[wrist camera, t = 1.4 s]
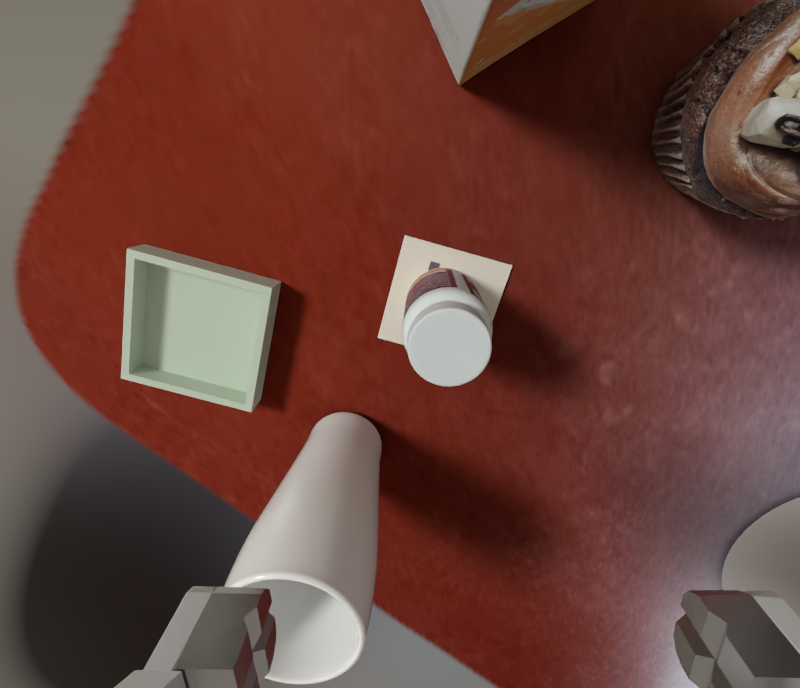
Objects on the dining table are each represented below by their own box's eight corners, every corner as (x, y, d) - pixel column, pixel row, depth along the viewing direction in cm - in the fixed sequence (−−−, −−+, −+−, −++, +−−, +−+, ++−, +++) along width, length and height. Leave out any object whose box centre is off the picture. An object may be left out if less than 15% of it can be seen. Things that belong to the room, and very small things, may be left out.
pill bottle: (396, 325, 29) (386, 378, 21) (418, 256, 28) (416, 287, 20) (464, 346, 30) (479, 406, 22) (490, 279, 28) (515, 317, 20)
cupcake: (750, 236, 26) (928, 267, 17) (602, 180, 26) (703, 179, 16) (860, 61, 23) (1156, -21, 14) (693, -10, 23) (885, -146, 13)
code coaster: (512, 265, 28) (512, 265, 28) (476, 364, 30) (476, 364, 30) (404, 235, 27) (404, 235, 27) (377, 337, 30) (377, 338, 30)
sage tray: (281, 281, 29) (272, 287, 27) (260, 399, 32) (251, 412, 30) (145, 244, 28) (126, 248, 27) (137, 367, 32) (121, 378, 30)
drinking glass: (366, 385, 31) (318, 553, 17) (407, 460, 33) (394, 665, 19) (285, 419, 32) (178, 601, 18) (329, 489, 34) (263, 702, 20)
